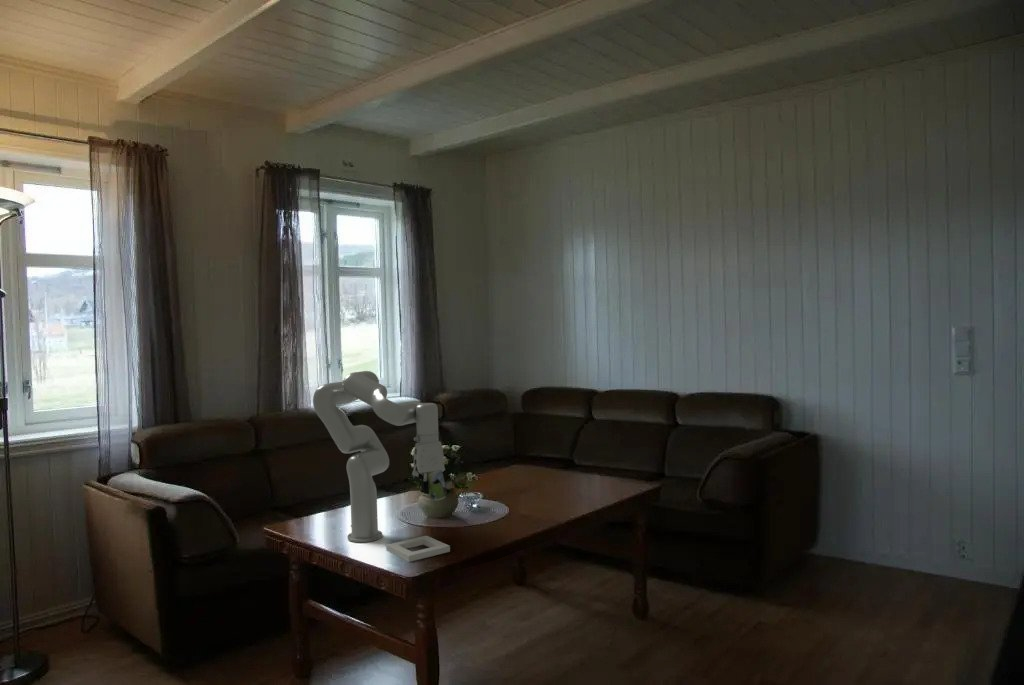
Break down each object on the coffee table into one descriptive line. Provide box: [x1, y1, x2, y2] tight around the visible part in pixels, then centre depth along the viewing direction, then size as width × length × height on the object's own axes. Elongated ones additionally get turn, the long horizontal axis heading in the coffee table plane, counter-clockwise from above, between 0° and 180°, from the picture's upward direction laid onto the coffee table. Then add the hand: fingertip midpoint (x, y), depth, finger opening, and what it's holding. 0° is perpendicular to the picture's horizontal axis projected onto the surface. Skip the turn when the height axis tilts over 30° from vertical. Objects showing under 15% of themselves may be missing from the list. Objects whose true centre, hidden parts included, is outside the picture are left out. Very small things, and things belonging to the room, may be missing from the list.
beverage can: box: [427, 470, 448, 501], centre depth 256 cm, size 6×7×12 cm
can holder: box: [385, 535, 451, 563], centre depth 252 cm, size 16×16×2 cm
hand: (429, 490), depth 255 cm, fingers closed on beverage can
